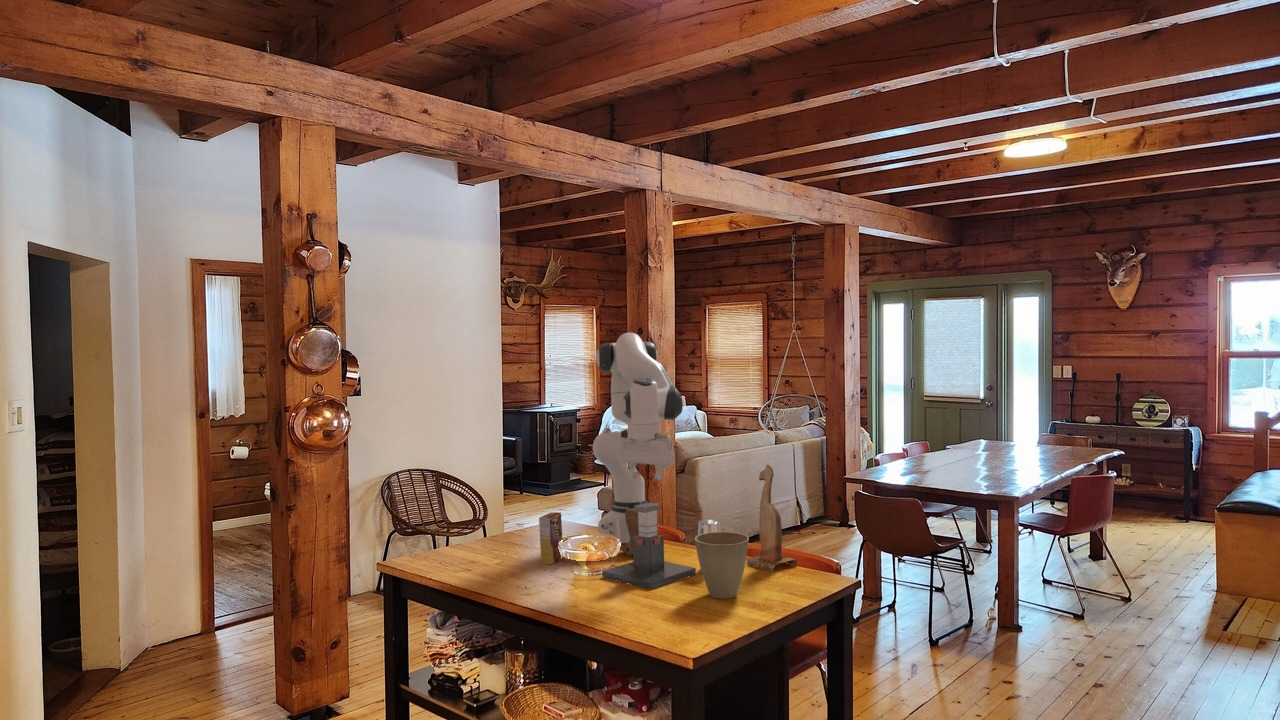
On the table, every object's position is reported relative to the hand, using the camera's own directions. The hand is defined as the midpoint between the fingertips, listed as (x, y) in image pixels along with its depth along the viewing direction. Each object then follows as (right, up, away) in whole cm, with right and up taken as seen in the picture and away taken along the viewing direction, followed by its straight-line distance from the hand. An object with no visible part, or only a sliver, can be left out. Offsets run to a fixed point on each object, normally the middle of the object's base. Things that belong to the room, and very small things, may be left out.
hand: (646, 478), depth 248 cm
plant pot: (+21, -30, -20) cm, 42 cm away
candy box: (-31, -30, +21) cm, 48 cm away
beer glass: (+20, -29, +6) cm, 36 cm away
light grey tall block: (+1, -27, 0) cm, 27 cm away
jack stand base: (+1, -30, 0) cm, 30 cm away
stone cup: (-2, -30, +31) cm, 43 cm away
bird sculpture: (+39, -29, +9) cm, 50 cm away
